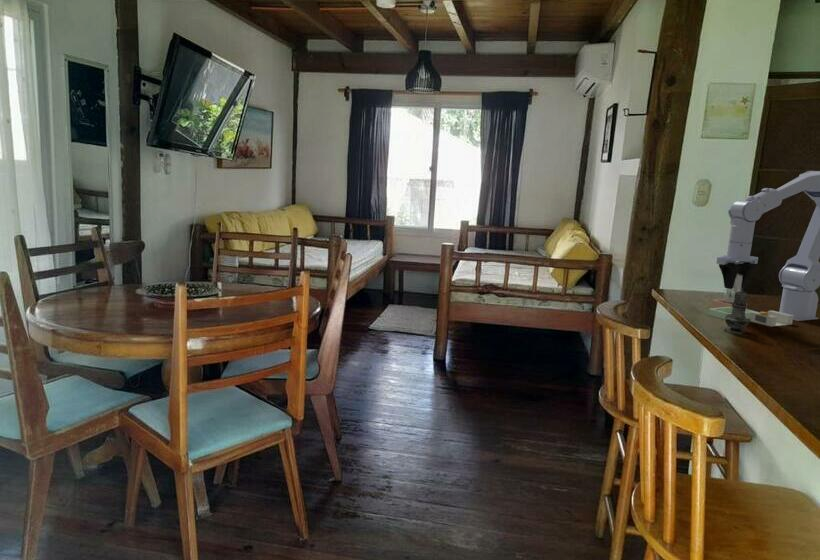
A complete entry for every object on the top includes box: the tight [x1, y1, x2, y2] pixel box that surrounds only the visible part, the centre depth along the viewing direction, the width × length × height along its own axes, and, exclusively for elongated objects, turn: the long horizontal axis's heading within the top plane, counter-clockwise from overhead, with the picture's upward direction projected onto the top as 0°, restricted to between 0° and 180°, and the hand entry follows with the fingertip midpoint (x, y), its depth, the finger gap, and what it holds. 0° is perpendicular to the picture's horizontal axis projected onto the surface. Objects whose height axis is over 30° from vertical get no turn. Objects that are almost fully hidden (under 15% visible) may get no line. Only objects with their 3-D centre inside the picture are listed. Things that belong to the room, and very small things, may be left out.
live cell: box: [725, 273, 743, 296], centre depth 155 cm, size 4×4×6 cm
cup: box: [710, 299, 748, 309], centre depth 165 cm, size 7×7×3 cm
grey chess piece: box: [723, 287, 751, 336], centre depth 140 cm, size 6×6×12 cm
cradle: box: [749, 310, 794, 327], centre depth 151 cm, size 9×6×4 cm, turn 111°
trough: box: [706, 307, 757, 321], centre depth 157 cm, size 12×7×2 cm, turn 111°
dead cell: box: [723, 289, 734, 304], centre depth 165 cm, size 4×4×6 cm
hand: (733, 288), depth 155 cm, fingers closed on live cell, 4 cm apart
